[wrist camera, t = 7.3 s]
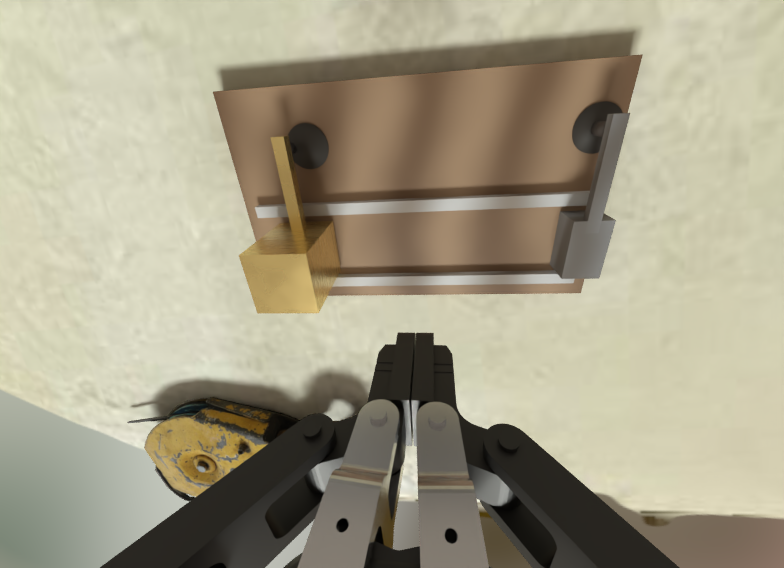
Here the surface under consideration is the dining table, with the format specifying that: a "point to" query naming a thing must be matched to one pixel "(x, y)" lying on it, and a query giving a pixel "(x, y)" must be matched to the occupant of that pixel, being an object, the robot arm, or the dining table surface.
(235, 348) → the dining table surface
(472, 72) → the gauge board
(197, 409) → the pulley block
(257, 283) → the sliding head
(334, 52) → the dining table surface
